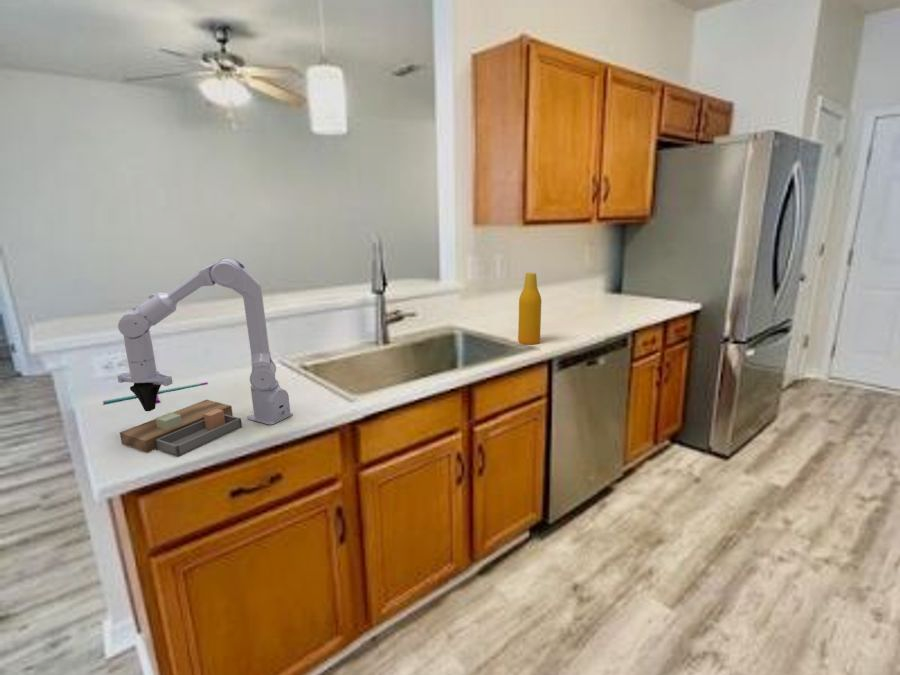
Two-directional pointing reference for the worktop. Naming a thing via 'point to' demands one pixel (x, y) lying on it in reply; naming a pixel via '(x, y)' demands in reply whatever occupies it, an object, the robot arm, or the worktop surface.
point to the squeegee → (157, 394)
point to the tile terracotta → (214, 419)
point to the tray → (195, 436)
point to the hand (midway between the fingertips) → (150, 409)
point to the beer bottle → (529, 312)
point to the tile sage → (168, 421)
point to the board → (149, 432)
